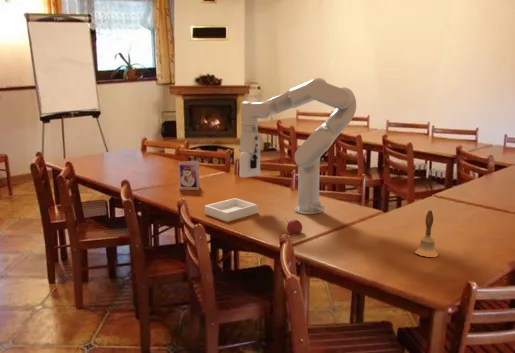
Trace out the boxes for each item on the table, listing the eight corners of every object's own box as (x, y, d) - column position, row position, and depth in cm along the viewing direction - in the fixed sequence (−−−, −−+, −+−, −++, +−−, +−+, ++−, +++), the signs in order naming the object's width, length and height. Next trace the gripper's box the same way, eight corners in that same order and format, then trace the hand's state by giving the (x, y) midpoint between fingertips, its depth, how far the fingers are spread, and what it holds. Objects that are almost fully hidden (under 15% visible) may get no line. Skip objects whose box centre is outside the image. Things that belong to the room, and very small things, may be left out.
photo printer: (256, 173, 243) (256, 148, 241) (261, 175, 240) (261, 149, 237) (238, 176, 238) (237, 150, 235) (242, 178, 235) (242, 152, 232)
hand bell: (433, 249, 186) (436, 207, 183) (442, 257, 178) (445, 214, 175) (411, 249, 186) (413, 207, 182) (419, 258, 178) (421, 214, 174)
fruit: (297, 234, 209) (290, 216, 211) (306, 231, 205) (298, 212, 206) (286, 238, 205) (279, 219, 207) (295, 234, 201) (288, 215, 202)
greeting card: (178, 189, 277) (177, 162, 274) (183, 186, 284) (182, 159, 281) (198, 190, 275) (197, 163, 271) (203, 187, 282) (202, 160, 278)
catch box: (257, 213, 233) (257, 204, 232) (226, 221, 221) (226, 213, 220) (235, 206, 244) (235, 198, 243) (204, 214, 233) (204, 205, 232)
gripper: (267, 129, 230) (267, 169, 234) (244, 126, 242) (244, 163, 247) (254, 131, 225) (255, 171, 229) (231, 127, 238) (232, 165, 242)
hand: (249, 166), depth 238 cm, fingers closed on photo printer, 4 cm apart
